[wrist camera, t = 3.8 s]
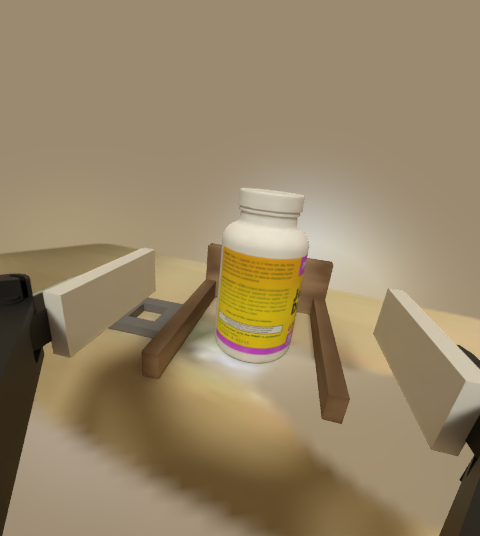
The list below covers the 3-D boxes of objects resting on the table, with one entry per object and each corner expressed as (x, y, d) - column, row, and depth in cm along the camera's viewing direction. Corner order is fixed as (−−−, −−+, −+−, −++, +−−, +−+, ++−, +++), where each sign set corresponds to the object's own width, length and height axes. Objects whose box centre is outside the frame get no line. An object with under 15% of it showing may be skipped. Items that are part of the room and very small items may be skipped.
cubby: (142, 374, 18) (139, 297, 16) (208, 290, 32) (211, 243, 30) (341, 423, 16) (368, 342, 14) (320, 311, 30) (331, 261, 27)
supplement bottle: (296, 370, 20) (333, 200, 16) (210, 363, 20) (223, 189, 15) (282, 323, 26) (306, 193, 22) (217, 317, 26) (228, 184, 22)
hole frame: (107, 328, 22) (107, 320, 22) (139, 302, 27) (139, 295, 27) (160, 339, 22) (160, 331, 21) (184, 311, 26) (184, 304, 26)
